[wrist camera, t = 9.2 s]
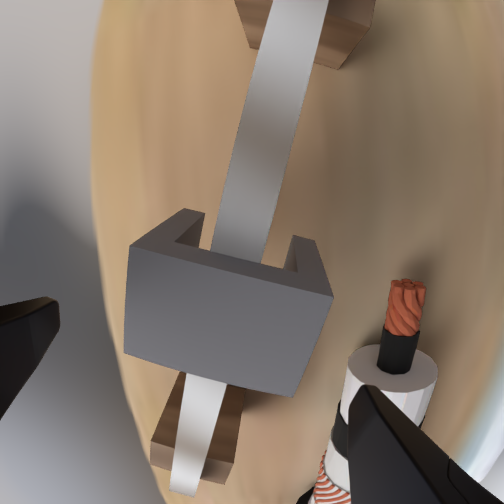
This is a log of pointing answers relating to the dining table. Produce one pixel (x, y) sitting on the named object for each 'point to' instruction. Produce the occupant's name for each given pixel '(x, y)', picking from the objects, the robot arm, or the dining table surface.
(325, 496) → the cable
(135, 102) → the dining table surface
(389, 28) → the dining table surface
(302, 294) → the grey u-channel block
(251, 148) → the arch bridge
